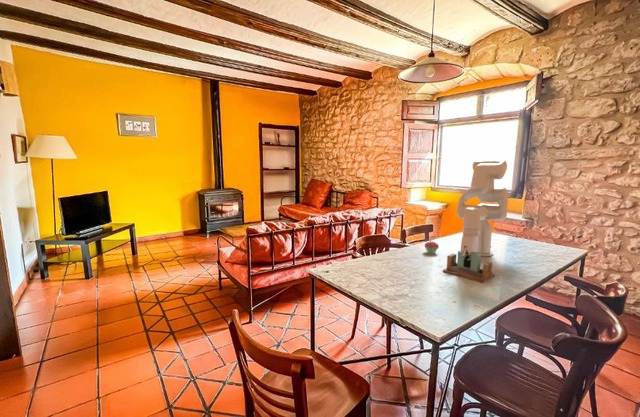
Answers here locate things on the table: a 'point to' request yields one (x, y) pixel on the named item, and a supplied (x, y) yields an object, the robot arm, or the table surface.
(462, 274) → the brown wooden holder
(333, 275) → the table surface
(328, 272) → the table surface
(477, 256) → the door panel
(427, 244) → the cupcake
